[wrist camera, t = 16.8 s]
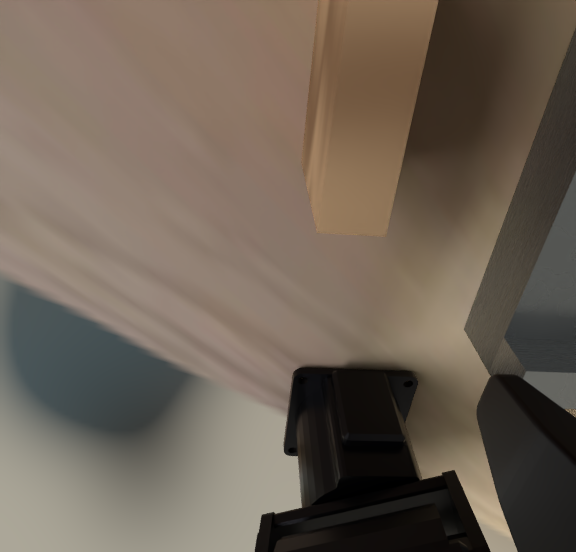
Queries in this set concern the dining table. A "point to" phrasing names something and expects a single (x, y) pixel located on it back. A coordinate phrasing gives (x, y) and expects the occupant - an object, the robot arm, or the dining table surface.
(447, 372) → the dining table surface
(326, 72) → the wooden block
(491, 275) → the slot block
